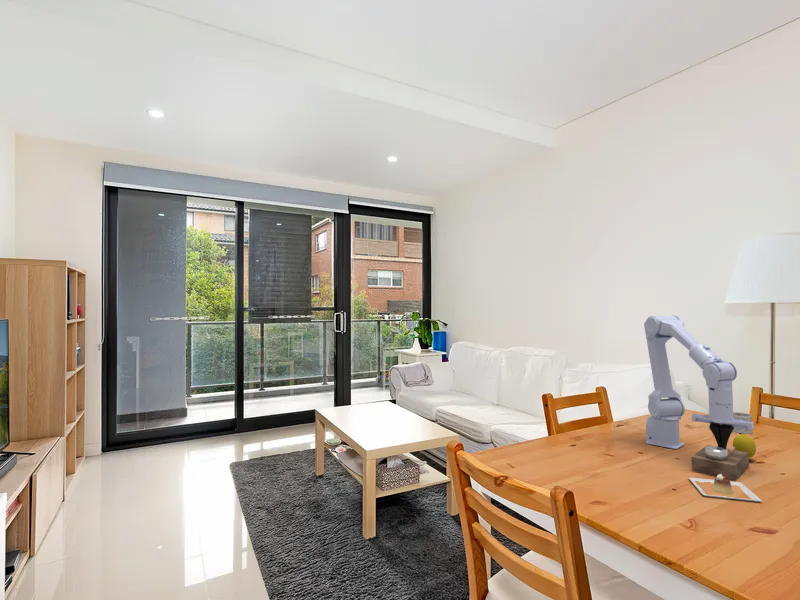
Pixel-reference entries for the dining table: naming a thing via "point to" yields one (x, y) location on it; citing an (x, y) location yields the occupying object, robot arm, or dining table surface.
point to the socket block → (721, 464)
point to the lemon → (745, 444)
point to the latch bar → (730, 450)
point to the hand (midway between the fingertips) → (722, 450)
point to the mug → (746, 418)
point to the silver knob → (716, 453)
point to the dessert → (725, 488)
